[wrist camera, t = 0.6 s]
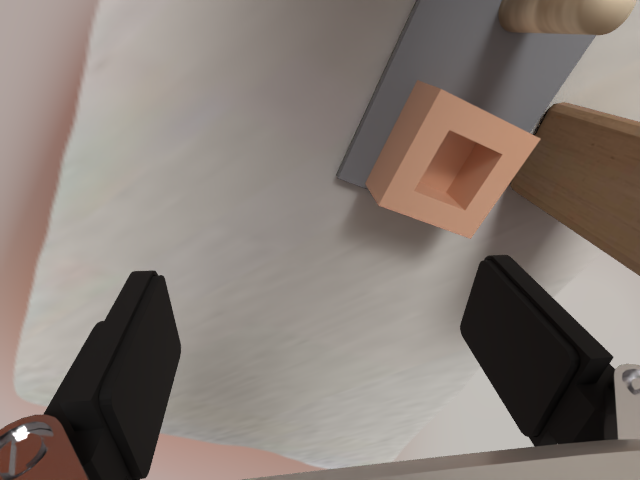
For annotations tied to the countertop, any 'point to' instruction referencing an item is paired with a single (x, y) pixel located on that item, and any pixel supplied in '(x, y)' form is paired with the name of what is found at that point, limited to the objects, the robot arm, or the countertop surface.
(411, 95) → the terracotta box
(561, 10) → the birch dowel
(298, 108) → the countertop surface
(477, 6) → the charcoal mat
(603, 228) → the wooden block
